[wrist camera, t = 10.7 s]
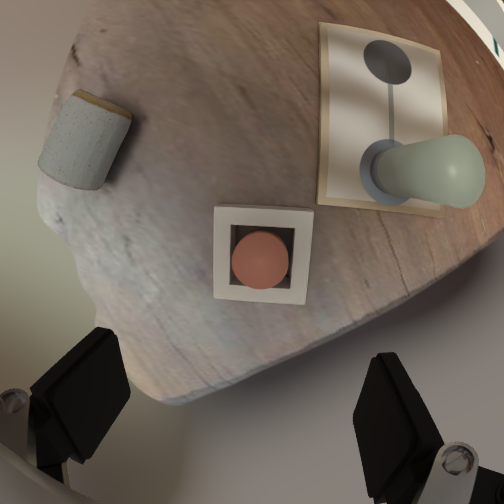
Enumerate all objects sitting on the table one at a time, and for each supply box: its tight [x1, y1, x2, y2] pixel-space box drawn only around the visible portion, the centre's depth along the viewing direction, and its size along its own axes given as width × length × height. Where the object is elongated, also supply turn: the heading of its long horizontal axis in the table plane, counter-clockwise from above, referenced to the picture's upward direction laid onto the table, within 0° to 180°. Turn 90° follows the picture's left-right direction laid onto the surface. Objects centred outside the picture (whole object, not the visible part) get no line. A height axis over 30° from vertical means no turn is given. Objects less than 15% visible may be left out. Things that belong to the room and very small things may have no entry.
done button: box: [232, 230, 289, 289], centre depth 23 cm, size 4×4×2 cm
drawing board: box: [316, 22, 448, 218], centre depth 21 cm, size 18×13×1 cm
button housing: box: [213, 203, 314, 305], centre depth 25 cm, size 8×8×3 cm
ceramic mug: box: [38, 90, 132, 190], centre depth 21 cm, size 11×8×8 cm
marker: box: [370, 135, 485, 208], centre depth 17 cm, size 4×4×11 cm
